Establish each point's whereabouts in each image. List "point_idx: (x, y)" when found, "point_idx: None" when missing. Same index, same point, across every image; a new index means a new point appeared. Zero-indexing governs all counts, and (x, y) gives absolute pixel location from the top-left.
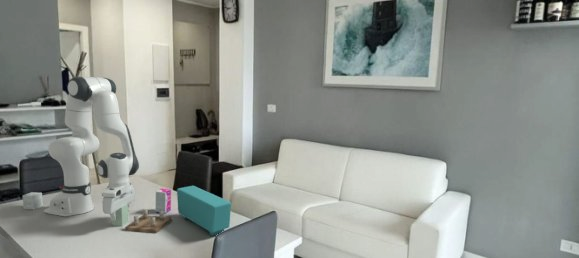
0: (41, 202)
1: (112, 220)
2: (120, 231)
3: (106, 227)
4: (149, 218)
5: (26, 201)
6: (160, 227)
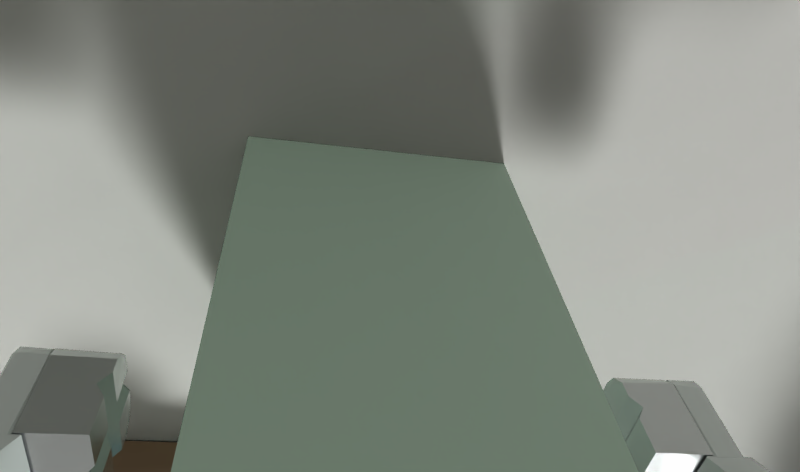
0: None
1: (229, 218)
2: None
3: (95, 59)
4: None
5: None
6: None
